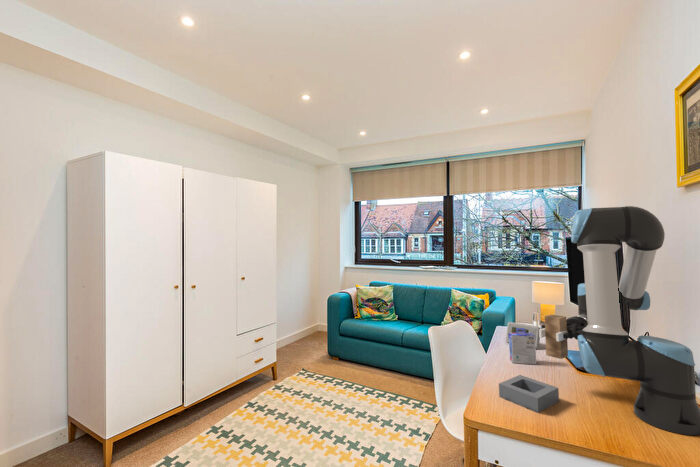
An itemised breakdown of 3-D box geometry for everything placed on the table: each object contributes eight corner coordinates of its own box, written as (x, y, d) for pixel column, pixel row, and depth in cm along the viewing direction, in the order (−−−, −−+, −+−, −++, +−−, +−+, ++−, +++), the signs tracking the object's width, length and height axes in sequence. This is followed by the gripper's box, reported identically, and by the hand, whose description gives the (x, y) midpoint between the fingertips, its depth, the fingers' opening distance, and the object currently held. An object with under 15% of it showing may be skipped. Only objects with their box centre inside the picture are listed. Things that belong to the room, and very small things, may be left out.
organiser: (558, 401, 107) (558, 387, 107) (538, 413, 100) (537, 398, 100) (520, 387, 118) (519, 374, 118) (499, 396, 111) (498, 383, 111)
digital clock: (503, 342, 171) (503, 322, 171) (514, 340, 175) (513, 320, 176) (533, 351, 157) (533, 329, 157) (544, 348, 161) (543, 326, 161)
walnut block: (568, 356, 116) (566, 316, 116) (561, 359, 113) (559, 318, 114) (553, 352, 120) (551, 314, 120) (546, 355, 117) (544, 316, 118)
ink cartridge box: (532, 360, 145) (531, 327, 145) (537, 364, 140) (535, 330, 140) (508, 359, 147) (507, 326, 147) (512, 363, 141) (511, 330, 142)
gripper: (607, 341, 119) (577, 353, 106) (554, 330, 134) (523, 340, 121) (606, 320, 119) (577, 330, 106) (554, 312, 134) (522, 320, 122)
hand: (548, 335), depth 114 cm, fingers closed on walnut block, 5 cm apart
